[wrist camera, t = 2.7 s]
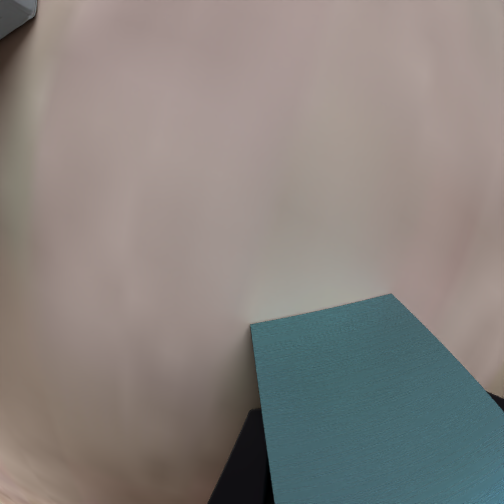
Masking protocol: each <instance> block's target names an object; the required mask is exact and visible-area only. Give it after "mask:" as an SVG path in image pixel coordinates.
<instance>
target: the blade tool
mask: <svg viewBox="0 0 504 504" xmlns="http://www.w3.org/2000/svg"><path fill="white" fill-rule="evenodd" d="M250 326H251V333H252V341H253V349H254V356H255V364H256V372H257V379H258V387H259V394H260V401H261V409H262V416H263V423H264V431H265V438H266V445H267V452H268V459H269V466H270V473H271V480H272V487H273V494H274V501H275V504H504V412H503V410H502V409H501V408H500V407H499V406H498V405H497V403H496V402H495V401H494V400H493V399H492V398H491V396H490V395H489V394H488V393H487V392H486V391H485V390H484V389H483V387H482V386H481V385H480V384H479V383H478V382H477V381H476V380H475V379H474V377H473V376H472V375H471V374H470V373H469V372H468V371H467V370H466V369H465V368H464V367H463V365H462V364H461V363H460V362H459V361H458V360H457V359H456V358H455V357H454V356H453V355H452V354H451V353H450V352H449V351H448V350H447V349H446V348H445V346H444V345H443V344H442V343H441V342H440V341H439V340H438V339H437V338H436V337H435V336H434V335H433V334H432V333H431V332H430V331H429V330H428V329H427V328H426V327H425V326H424V325H423V324H422V323H421V322H420V321H419V320H418V319H417V318H416V317H415V316H414V315H413V314H412V313H411V312H410V311H409V310H408V309H407V308H406V307H405V306H404V305H403V304H402V303H401V302H400V301H399V300H398V299H396V298H395V297H394V296H393V295H392V294H388V295H384V296H380V297H376V298H372V299H368V300H364V301H360V302H355V303H351V304H347V305H343V306H338V307H334V308H329V309H325V310H320V311H316V312H311V313H306V314H302V315H297V316H292V317H287V318H282V319H277V320H271V321H266V322H261V323H255V324H250Z"/></svg>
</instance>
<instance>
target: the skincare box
mask: <svg viewBox="0 0 504 504" xmlns="http://www.w3.org/2000/svg"><path fill="white" fill-rule="evenodd" d="M36 5H37V0H0V39H2V38H3V37H4V36H6V35H7V34H9V33H10V32H11V31H13V30H14V29H16V28H18V27H19V26H21V25H22V24H24V23H25V22H26V21H27V20H29V19H31V18H33V17H34V16H35V13H36Z"/></svg>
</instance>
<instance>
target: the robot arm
mask: <svg viewBox="0 0 504 504" xmlns="http://www.w3.org/2000/svg"><path fill="white" fill-rule="evenodd" d="M486 392H487V391H486ZM487 393H488V394H489V395H490V396H491V398H492V399H493V400H494V401H495V402H496V403H497V405H498V406H499V407H500V408H501V409H502V410H503V412H504V399H503V398H501V397H499V396H496V395H494V394H492V393H489V392H487ZM207 504H275V501H274V494H273V487H272V480H271V473H270V466H269V459H268V452H267V445H266V438H265V431H264V423H263V416H262V409H261V408H258V409H252V410H250V411H249V413H248V415H247V418H246V420H245V422H244V425H243V427H242V429H241V432H240V434H239V436H238V438H237V441H236V443H235V445H234V447H233V450H232V452H231V454H230V456H229V459H228V461H227V463H226V465H225V467H224V469H223V472H222V474H221V476H220V478H219V480H218V482H217V484H216V486H215V489H214V491H213V493H212V495H211V497H210V499H209V501H208V503H207Z"/></svg>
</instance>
